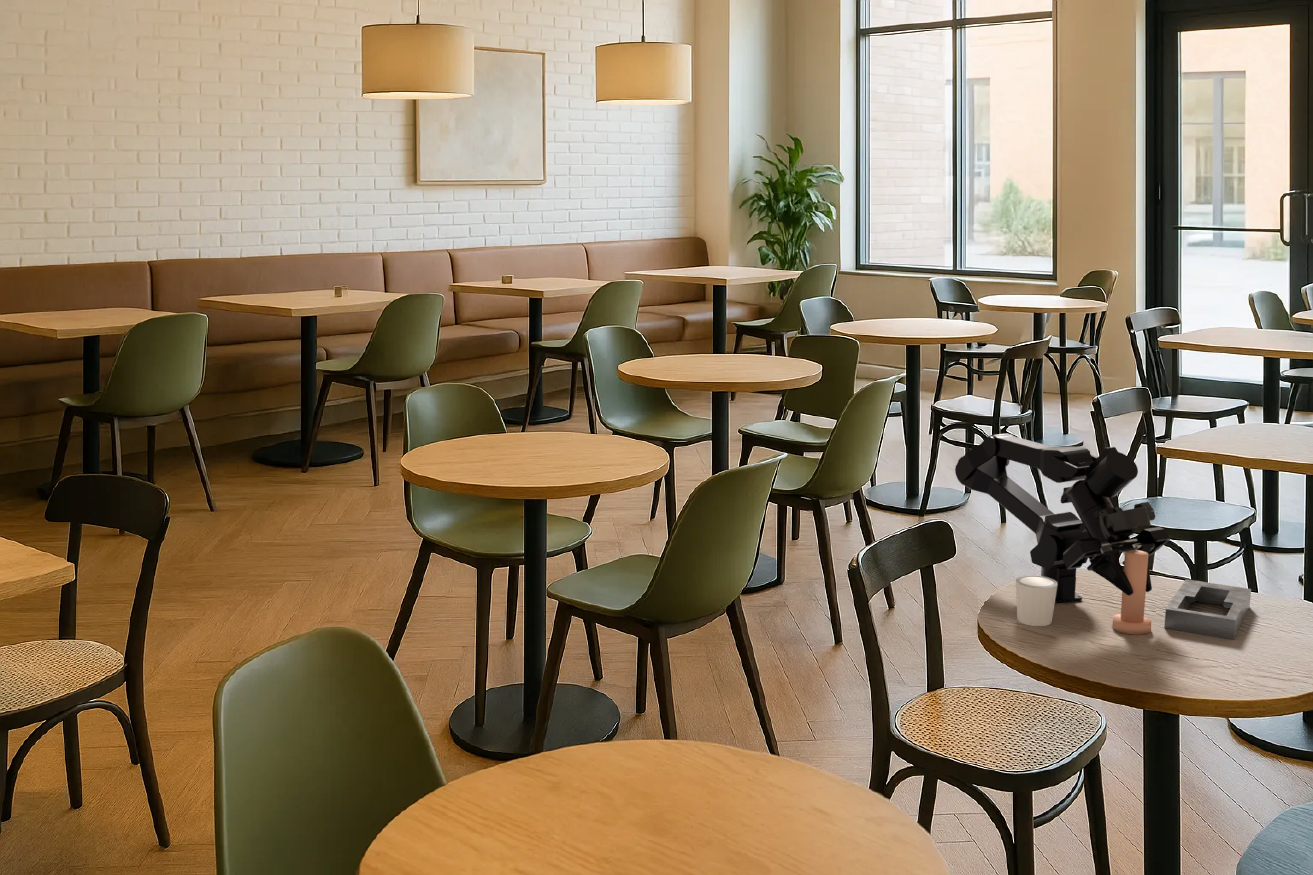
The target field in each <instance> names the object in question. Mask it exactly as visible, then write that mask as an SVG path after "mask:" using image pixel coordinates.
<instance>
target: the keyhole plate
mask: <svg viewBox="0 0 1313 875" xmlns="http://www.w3.org/2000/svg"><path fill="white" fill-rule="evenodd" d="M1251 595H1252V589H1251V588H1247V587H1246V588H1245V587H1240V586H1234V585H1226V584H1219V583H1214V582H1213V583H1212V582H1206V581H1200V580H1193V579H1185V580H1184V581H1183V583H1182V584H1181V586H1180V588H1179V589H1178V590H1177V591H1176V593H1175V594H1174V596H1173V598H1172V599H1171V601H1170V602H1169V603H1168V605H1167V606H1166V608H1165V613H1164V614H1165V616H1164V629H1170V630H1177V631H1181V632H1186V633H1187V632H1188V633H1193V634H1199V635H1205V636H1210V637H1215V638H1216V637H1217V638H1221V637H1222V638H1223V639H1228V640H1234V639H1235V638H1236V636H1237V634H1238V632H1239V630H1240V628H1241V626H1242V624H1243V621H1244V620H1245V617H1246V615H1247V613H1248V611H1249V609H1250V606H1251V598H1252V597H1251ZM1195 602H1200V603H1205V604H1211V605H1216V606H1223V608H1227V609H1229V610H1228V611H1227V614H1226V615H1221V614H1214V613H1210V612H1209V613H1208V612H1202V611H1196V610H1191V609H1190V610H1189V609H1188V608H1189V606H1190V604H1192V603H1195Z"/></svg>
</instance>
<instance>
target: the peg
mask: <svg viewBox="0 0 1313 875" xmlns="http://www.w3.org/2000/svg"><path fill="white" fill-rule="evenodd" d="M1123 561H1124V565H1123V570H1124V572H1125V574H1126V576H1127V578H1128V580H1129V582H1130V584H1131V587H1132V590H1133V594H1132V595H1130V596H1128V595H1127V594H1125V593H1124V592H1123V591H1121V607H1120V613H1116V614H1114V615H1113V616H1112V624H1111V625H1112V626H1111V627H1112V628H1113V629H1114V631H1117V632H1118V633H1123V634H1127V635H1147V634H1149V633H1150V632H1151V630H1152V620H1151V619H1150V618H1149V617H1147V616H1145V607H1146V593H1147V592H1146V580H1147V566H1148V564H1149V556H1148V553H1147V552H1144V551H1140V550H1127V551H1125V555H1124V560H1123Z"/></svg>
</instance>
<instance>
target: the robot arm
mask: <svg viewBox="0 0 1313 875" xmlns="http://www.w3.org/2000/svg"><path fill="white" fill-rule="evenodd" d="M1010 461H1011V462H1015V463H1018V464H1021V465H1025V466H1028V467H1032V468H1036V469H1037V470H1038V471H1040V472H1041V474H1042V476H1044V477H1045V478H1047V479H1049V480H1050V481H1052V482H1055V483H1058V484H1060V483H1068V482H1069V483H1070V482H1074V483H1073V484H1072V485H1071V486H1068V487H1063V491H1062V494H1061V496H1060V503H1061V504H1069V503H1071V504H1072V506H1073V508H1074V510H1075V512H1076V514H1077V515H1078V516H1077V515H1076V514H1075V513H1073V512H1072V511H1067V512H1065V511H1064V512H1059V513H1054V512H1053V511H1052V510H1050V509H1049V508H1048V507H1046V506H1045V505H1044V504H1043V503H1042V502H1041V501H1039V500H1038V499H1037V498H1035V497H1034V496H1033V495H1031V494H1030V493H1029V492H1028V491H1026V490H1025V489H1024V488H1023V487H1022V486H1020V485H1019V484H1018V483H1016V481H1014V480H1013V479H1012V478H1010V477H1009V475H1008V473H1007V466H1009V465H1010ZM954 467H955V468H954V473H955V476H956V479H957V480H958V482H959V483H960V485H963V486H964V487H966V488H968V489H969V490H972V491H975V492H978V493H982V494H986V495H989V496H990V497H991V498H992V499H993V500H995V501H996V502H997V503H998V504H1000V506H1002V507H1003V508H1004V509H1005V510H1007V511H1008V512H1009V513H1010V514H1011V515H1013V516H1014V517H1015V518H1016V519H1017V520H1019V522H1021V523H1022V524H1023V525H1024V526H1026V527H1027V528H1028V529H1030V530H1031V531H1032V532H1033V533H1034V535H1035V537H1036V543H1037V544H1036V545H1035V546H1034V547H1033V548H1031V550H1030V552H1029V554H1030V559H1031V563H1032V564H1034V565H1036V566H1038V567H1041V568H1040V576H1043V577H1048V578H1051V579H1054V580H1055V581H1057V584H1058V585H1057V591H1056V598H1055V603H1062V602H1063V603H1064V602H1072V601H1074V602H1075V601H1082V600H1083V596H1082V595H1080V594H1078V593H1077V592H1076V588H1077V585H1076V583H1077V569H1080V568H1082V567H1083V565H1084V564H1087V562H1088V560H1089V563H1090V564H1089V565H1088V566H1087V567H1086V569H1087V570H1088V571H1091V572H1094V573H1095V574H1097V575H1098V576H1100V577H1101V578H1103V579H1104V580H1106V581H1107V582H1109V583H1110V584H1111V585H1113V586H1114V587H1116V588H1117V589H1118V590H1120V591H1121V592H1122V591H1123V592H1124V593H1125V594H1127V595H1128V596H1130V595H1132V594H1133V590H1132V587H1131V584H1130V582H1129V580H1128V578H1127V576H1126V574H1125V572H1124V567H1122V565H1123V566H1124V560H1123V561H1122V562H1120V553H1123V556H1125V551H1127V550H1140V551H1144V552H1147V553H1148V557H1150V556H1151V555H1154V554H1155V553H1156V552H1157V551H1159V550H1160V549H1161V548H1162V547H1163V546H1164V545H1166V544H1167V543H1168V542H1169V541H1170V540H1171V538H1170V536H1169V534H1168V533H1167V531H1166V528H1162V527H1160V526H1156V527H1152V528H1151V527H1150V526H1151V525H1152V524H1151V521H1154V520H1155V519H1156V513H1155V510H1154V508H1153V507H1152V505H1151V503H1149V501H1144V502H1140V503H1136V504H1134V506H1133V507H1134V508H1130V509H1125V510H1124V509H1123V508H1121V507H1120V506H1115V507H1114V505H1113V503H1112V502H1111V499H1110V498H1114V497H1116V496H1117V495H1119V494H1120V492H1122V491H1123V490H1124V489H1125V488H1126V487H1128V485H1129V484H1130V483H1131V482H1132V481H1134V480H1135V478H1136V477H1137V476H1138V474H1139V470H1138V466H1137V464H1136V462H1135V460H1132V459H1131V458H1130V457H1129V456H1128V455H1126V454H1125V453H1123V452H1120V451H1118V449H1117V447H1116V446H1109V447H1104V449H1103V450H1102V451H1101V453H1100V454H1099V455H1098V456H1095V455H1093V454H1091V451H1090V449H1088V448H1086V447H1084V446H1050V445H1047V444H1044V443H1039V442H1035V441H1033V440H1028V439H1025V438H1022V437H1018V436H1017V437H1016V436H1014V435H1013V434H1011V433H999V434H996V433H995V434H990V435H989V436H987V437H986V438H984V440H982V442H981V443H980V444H978V445H976V446H974V447H973V448H972V449H970V450H968V452H966V453H965V454H964V455H963V456H961V457H959V459H958V460H957V463H956V465H955V466H954ZM1141 527H1150V528H1144V529H1143V530H1141V531H1140V532H1139V533H1138V534H1137V535H1136V536H1135V537H1133V538H1130V537H1131V536H1133V535H1135V533H1137V528H1141ZM1121 564H1122V565H1121ZM1152 590H1153V585H1152V580H1151V573H1150V565H1149V563H1148V566H1147V580H1146V593H1150V592H1151V591H1152Z"/></svg>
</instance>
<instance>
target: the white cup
mask: <svg viewBox="0 0 1313 875" xmlns="http://www.w3.org/2000/svg"><path fill="white" fill-rule="evenodd" d="M1057 585H1058V584H1057V581H1055V580H1054V579H1051V578H1048V577H1043V576H1041V575H1022V576H1018V577H1016V578H1015V592H1016V593H1015V594H1016V595H1015V596H1016V616H1017V621H1018V622H1019V623H1021V624H1024V625H1027V626H1032V627H1033V626H1034V627H1046V626H1049V625H1051V624H1052V622H1053V618H1054V617H1053V616H1054V611H1055V610H1054V609H1055V604H1056V602H1055V598H1056V591H1057Z"/></svg>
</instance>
